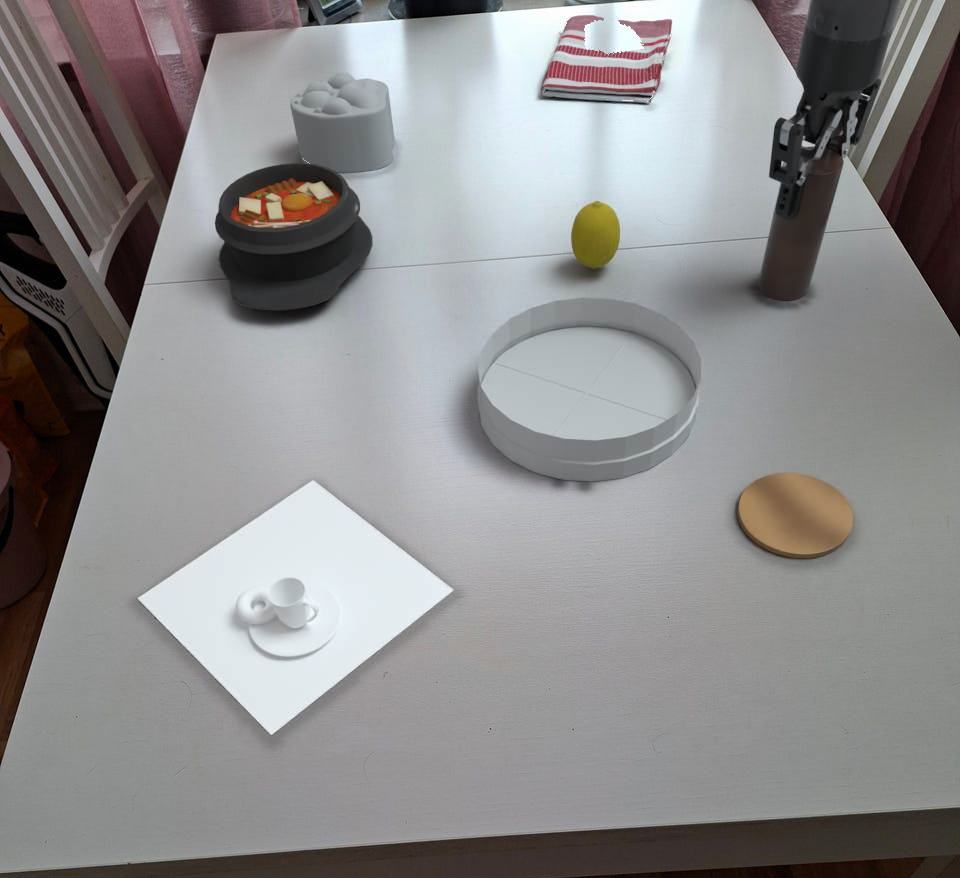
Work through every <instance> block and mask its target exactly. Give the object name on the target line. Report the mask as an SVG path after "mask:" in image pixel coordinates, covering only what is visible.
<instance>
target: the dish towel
mask: <svg viewBox="0 0 960 878" xmlns="http://www.w3.org/2000/svg"><path fill="white" fill-rule="evenodd" d="M569 18H570V19H569ZM569 18H568V19H569V20H568V19H567V20H568V21H567V20H566V22H567V24H566V23H565V24H566V26H565V25H564V28H563V31H562V34H561V37H560V39H559V41H558V44H557V46H556V48H555V50H554V53H553V55H552V57H551V58H550V59H551V60H550V63H549V64H548V66H547V68H546V71H545V74H544V77H543V85H542V86H541V90H540V94H541V96H545V97H548V98H549V97H550V98H551V97H553V96H555V97H553V98H563V99H577V100H588V101H589V100H590V101H610V102H623V103H641V104H642V103H643V104H651V102H652V100H653V99H654V97H655V95H656V94H657V91H658V88H659V87H660V83H661V80H662V79H661V78H662V72H663V71H662V70H663V67H664V65H665V60H666V56H667V54H668V53H667V52H668V47H669V44H670V40H671V38H672V36H671V37H670V34H671V35H672V29H673V27H672V26H673V20H672V19H671V18H666V19H658V20H657V19H656V20H638V21H631V20H630V21H629V20H624V19H617V20H618V21H619V22H620V24H622V25H624V24H625V25H626V26H627V27H628V26H630V27H631V29H633V30H634V31H635V32H636V34H637V35H638V36H639V37H640V38H641V39H642V40H641V39H640V40H641V41H642V42H640V43H641V44H644V45H642V46H643V47H644V49H640V50H631V51H625V52H622V51H621V53H619V52H617V53H614V52H613V53H614V54H613V53H610V54H609V53H608V54H609V55H608V54H605V53H604V52H602V51H600V50H599V52H598V51H595V50H590V49H588V50H587V49H586V48H585V47H586V46H585V45H584V44H585V43H584V42H585V40H584V39H585V31H584V28H585V25H587V24H590V23H591V22H594V20H596V21H598V20H602V21H603V20H604V18H605V17H603V16H597V15H594V14H583V15H582V14H581V15H574V16H570V17H569ZM664 55H665V56H664ZM663 59H664V60H663ZM656 90H657V91H656ZM655 92H656V93H655ZM652 95H654V96H653V97H652ZM651 97H652V98H651ZM583 98H585V99H583ZM650 98H651V99H650ZM603 99H606V100H603ZM607 99H608V100H607ZM622 100H633V101H622ZM647 101H648V102H647Z"/></svg>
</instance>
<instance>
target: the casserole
mask: <svg viewBox="0 0 960 878" xmlns="http://www.w3.org/2000/svg"><path fill="white" fill-rule="evenodd" d="M360 211H361V202H360V198H359V196H358V194H357V193H356V192H355V191H354V189H352V188H351V187H350V186H349V184H348V182H347V180H346V179H345V178H344V177H343V175H341V173H337V172H336V171H334V170H332V169H329V168H327V167H324V166H320V165H316V164H307V163H304V162H290V163H280V164H274V165H270V166H266V167H262V168H259V169H256V170H253V171H251V172H249V173H246V174H245V175H243V176H241V177H239V178H237V179H236V180H234V181H233V182H232V183H231V184H229V185H228V186H227V188H225V190H223V192H222V194H221V195H220V198H219V201H218V212H217V213H216V215H215V220H214V227H215V231H216V233H217V235H218V236H219V238H220V239H221V240H222V241H223V244H222V245H221V248H220V250H219V254H218V262H219V267H220V269H221V271H222V273H223V274H224V276H225V278H226V279H227V281H228V283H229V287H230V291H231V295H232V300H234V301H235V302H236V303H238V304H239V305H241V306H244V307H247V308H249V309H254V310H255V309H256V310H260V311H261V310H262V311H288V310H289V311H290V310H297V309H302V308H303V309H304V308H307V307H308V308H309V307H312V306H315V305H318V304H321V303H324V302H325V301H327V300H329V299H330V298H332V297H333V296H334V295H335V294H336V293H337V292H338V290H339V288H340V287H341V286H342V284H343V283H344V282H345V281H346V279H347V278H348V277H349V276H351V275H352V274H353V273H354V272H355V271H356V270H357V269H358V268H359V267H360V266H362V265H363V264H364V263H365V261H366V260H367V258H368V257H369V255H370V253H371V251H372V248H373V235H372V231H371V229H370V228H369V226H368V225H367V224H366V223H365V222H364V220H363V219H362V218H361V217H360V216H359V214H360Z"/></svg>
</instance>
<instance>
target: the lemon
mask: <svg viewBox="0 0 960 878" xmlns="http://www.w3.org/2000/svg"><path fill="white" fill-rule="evenodd" d="M570 241H571V243H570V244H571V249H572V252H573V255H574V257H575V258H576V260H577V261H578V262H579V263H580V264H582V265H583V266H585V267H588V268H590V269H591V270H596V269H598V268H600V267H604V266H605V265H607V264H608V263H610V261H612V260H613V258H614V257H615V256H616V253H617V251H618V249H619V246H620V241H621V227H620V221H619V218H618V216H617V213H616V212H615V210H614V209H613V208H612V207H611V206H610V205H609V204H606V203H604V202H601V201H599V200H595V201H594V202H590V203H588V204H586V205H584V206H583V207H582V208H580V210H579V211H578V212H577V214H576V216H575V218H574V221H573V224H572V227H571V233H570Z"/></svg>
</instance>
